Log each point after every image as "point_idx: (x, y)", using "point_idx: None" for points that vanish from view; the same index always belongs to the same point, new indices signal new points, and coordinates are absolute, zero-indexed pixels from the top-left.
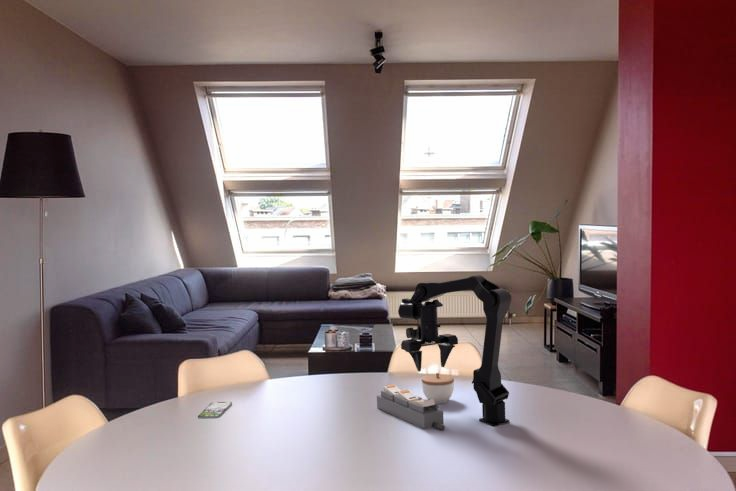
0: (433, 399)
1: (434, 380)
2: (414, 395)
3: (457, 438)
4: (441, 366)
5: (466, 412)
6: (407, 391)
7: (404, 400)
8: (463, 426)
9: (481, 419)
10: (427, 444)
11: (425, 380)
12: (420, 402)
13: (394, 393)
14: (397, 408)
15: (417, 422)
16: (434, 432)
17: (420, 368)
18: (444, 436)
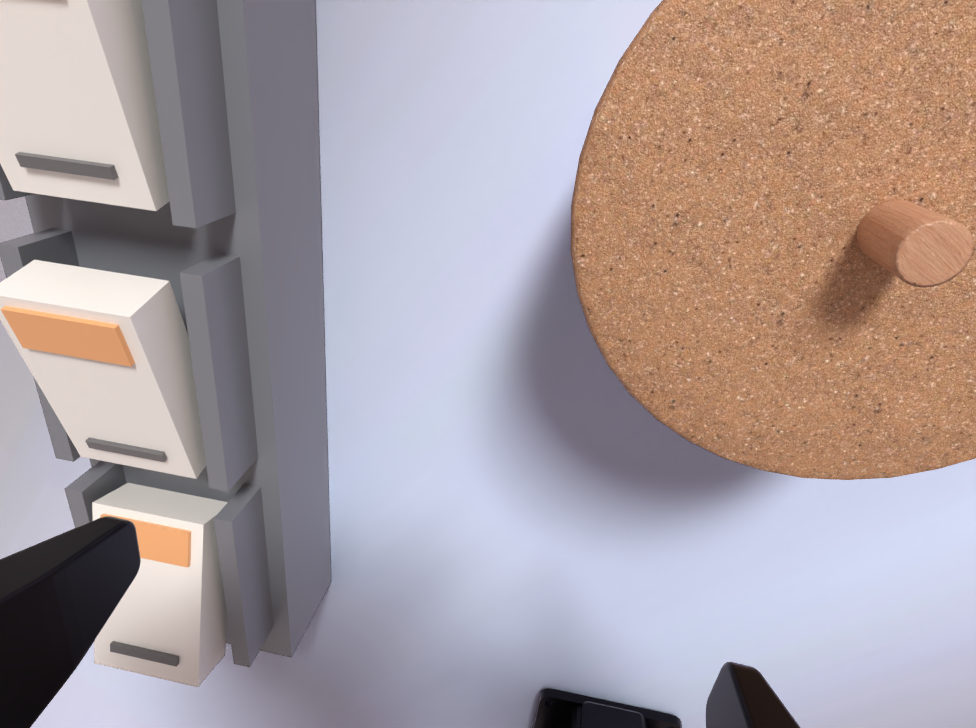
0: (195, 684)
1: (673, 325)
2: (167, 432)
3: (262, 716)
4: (725, 667)
5: (634, 556)
6: (101, 357)
7: (47, 424)
8: (402, 666)
9: (546, 708)
10: (103, 666)
11: (588, 190)
12: None
13: (18, 168)
14: None
15: None
16: None
17: (80, 636)
18: (225, 669)
